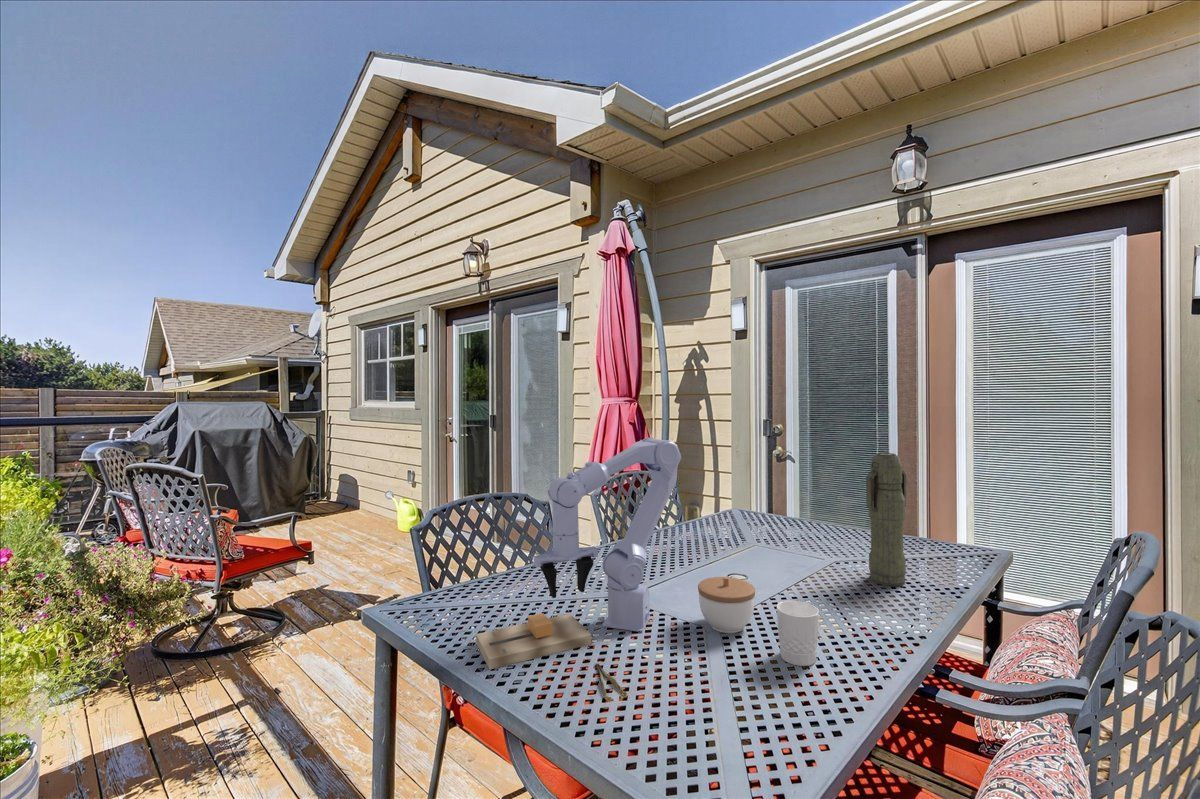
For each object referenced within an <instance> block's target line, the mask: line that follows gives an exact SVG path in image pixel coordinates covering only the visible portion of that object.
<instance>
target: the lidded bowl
mask: <svg viewBox="0 0 1200 799" xmlns="http://www.w3.org/2000/svg"><path fill="white" fill-rule="evenodd" d="M697 590H698V591H697V592H698V603H699V607H700V611H701V614H702V616H703V617H704V619H705V621H706V622H707V624H709V625H710V627H711V629H712V630H714V631H715V632H718V633H722V634H736V633H739V632H742V631H743V629H744V627H746V626H747V625H748V624H749V622H750V621H751V619H752V617H753V615H754V611H755V598H756V597H755V596H756V587H754V585H753V584H752V583H750V582H748V581H747V580H743V579H741V578H735V577H731V576H730V577H729V576H715V577H709V578H705V579H703V580H701V581H700V582H699V583H698V584H697Z"/></svg>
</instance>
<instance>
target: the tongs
mask: <svg viewBox="0 0 1200 799" xmlns="http://www.w3.org/2000/svg"><path fill="white" fill-rule="evenodd" d="M595 667H596V669H597V671H598V674H599V678H600V681H601V687H602V689H603V690H602V691H603V693H604V695H603V697H604V699H605V701H606V702H615V701H614V698H612V697H610V696H608V695H607V690H606V687H605V684H604V681H603V680H604V676H605V677H606V678H607V679H608V681H609V682H611V684H613V685H614V687H616V689H617V690H618V691H619V692H620V693H621V694H620V700H623V699H625V698H627V697H628V693H627V692H626V691H624V690H623V689H622V687H621V685H620V684H619V683H618V682H617V680H616V679H615V678H614V677H613V676H612V675H610V674H608V673H607V672H606V671H605V670H604V669H603V668H602V667H601V665H600V663H598V662H597V663H595Z"/></svg>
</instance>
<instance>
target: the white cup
mask: <svg viewBox="0 0 1200 799" xmlns="http://www.w3.org/2000/svg"><path fill="white" fill-rule="evenodd" d="M819 613H820V611H819V608H818V607H816V606H815V605H813V604H812V603H809V602H806V601H805V602H804V601H801V600H800V601H799V600H784V601H781V602H778V603H777V604H776V616H777V617H776V618H777V634H778V643H779V652H780V657H781V659H782V660H783V661H784V662H786V663H788V664H791V665H793V666H794V665H795V666H799V667H808V666H809V667H810V666H813V665H815V663H816V662H817V649H818V648H817V647H818V638H819V616H820V614H819Z"/></svg>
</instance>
